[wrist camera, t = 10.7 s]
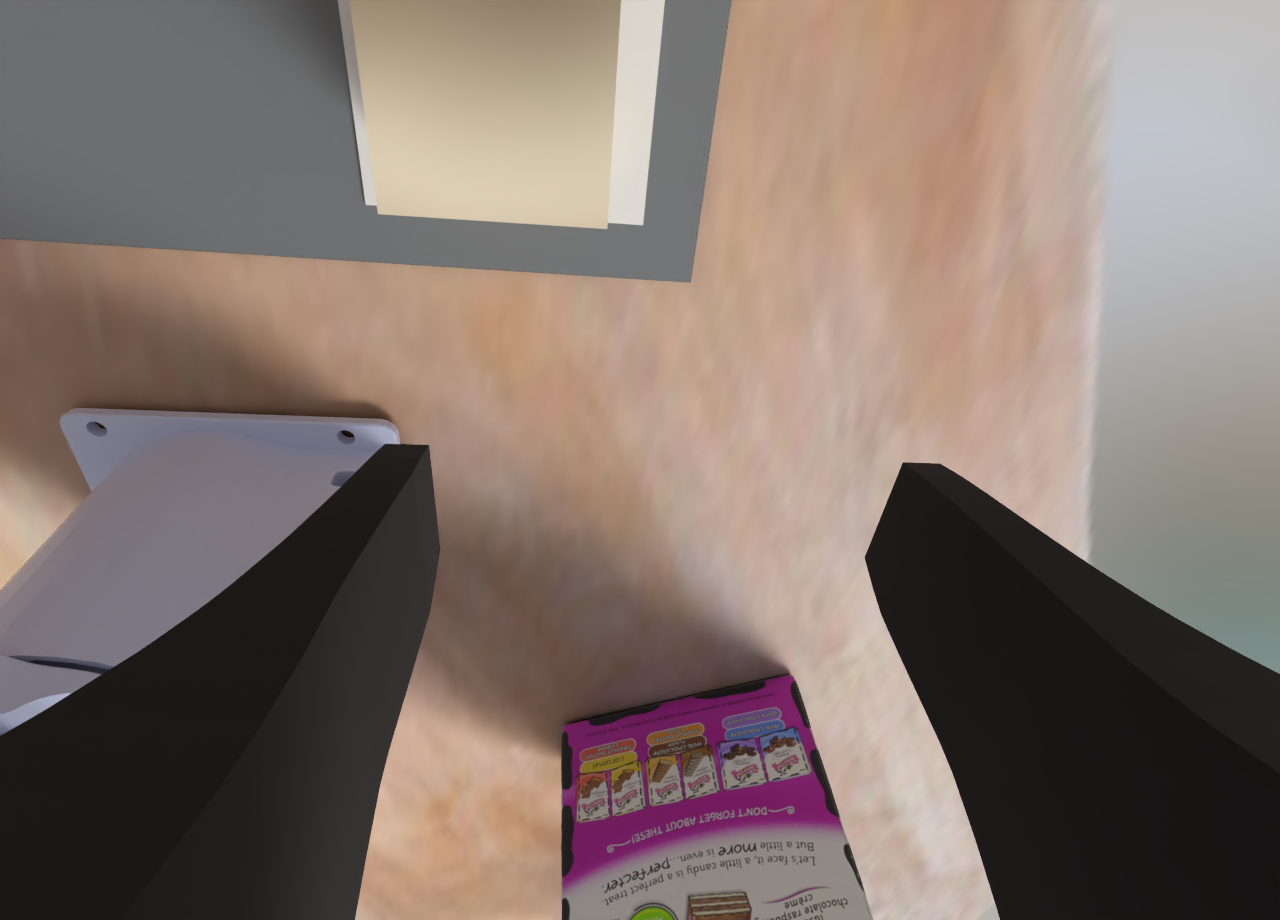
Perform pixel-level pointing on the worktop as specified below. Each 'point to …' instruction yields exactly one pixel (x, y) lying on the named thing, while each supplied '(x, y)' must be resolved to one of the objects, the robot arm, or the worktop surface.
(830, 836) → the candy bar box
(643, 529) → the worktop surface
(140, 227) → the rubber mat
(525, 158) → the green and cream block
